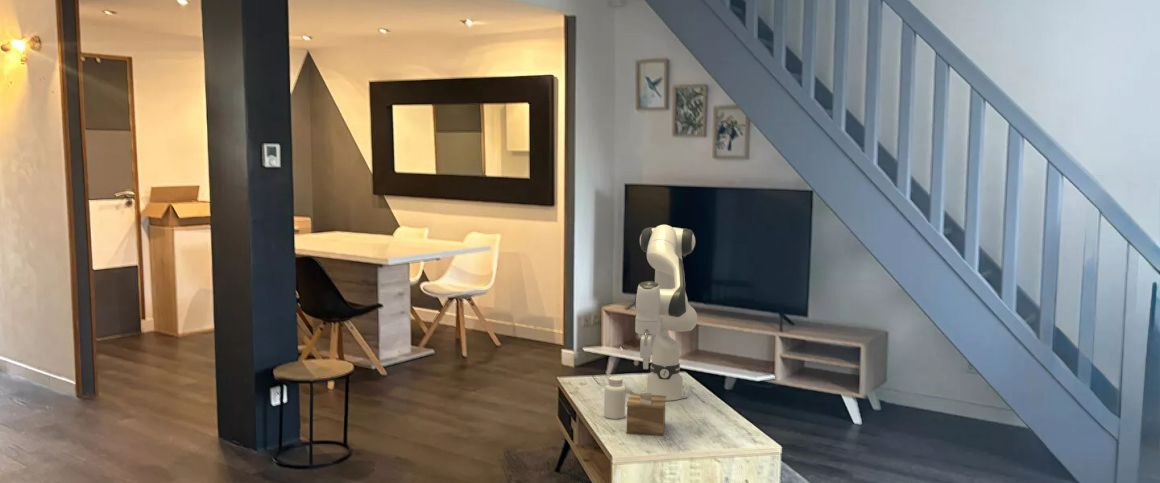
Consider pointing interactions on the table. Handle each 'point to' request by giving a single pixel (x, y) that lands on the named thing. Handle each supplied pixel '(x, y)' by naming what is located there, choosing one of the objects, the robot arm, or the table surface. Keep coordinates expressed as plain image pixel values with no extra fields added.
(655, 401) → the lid
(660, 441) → the table surface
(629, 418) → the carton
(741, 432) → the table surface
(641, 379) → the table surface
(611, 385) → the pill bottle
